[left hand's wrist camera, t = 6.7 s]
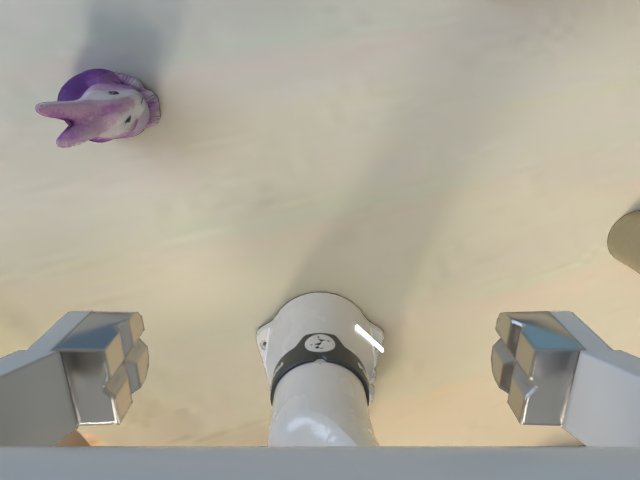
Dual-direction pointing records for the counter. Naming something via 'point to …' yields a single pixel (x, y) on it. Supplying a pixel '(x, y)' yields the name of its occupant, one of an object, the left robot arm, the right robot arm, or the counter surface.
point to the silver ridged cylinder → (626, 240)
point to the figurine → (101, 107)
